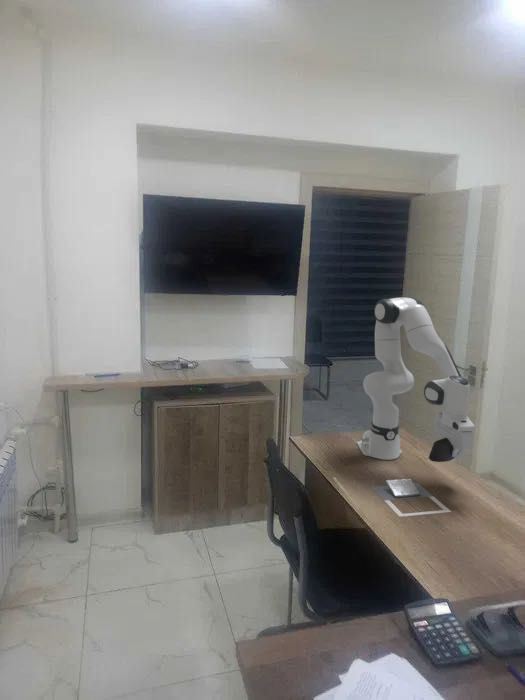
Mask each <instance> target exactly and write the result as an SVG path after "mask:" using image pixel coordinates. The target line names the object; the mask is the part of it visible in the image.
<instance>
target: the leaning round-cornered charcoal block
mask: <svg viewBox="0 0 525 700" xmlns="http://www.w3.org/2000/svg"><path fill="white" fill-rule="evenodd" d="M453 450H454V448H453V445H451V442H450V441H449V440H448V438H443V439H442V438H440V439H437V440H436V441H434V442H433V444H432V447H431V450H430V452H429V455H428V460H429V461H431V462H434V463H435V462H436V463H445V462H450V461H452V460H454V459H456V457H453V456H451V451H453ZM460 452H461V451H460V450H459V451H458V452H457V456H458V455H460Z"/></svg>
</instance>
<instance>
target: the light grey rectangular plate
mask: <svg viewBox="0 0 525 700" xmlns="http://www.w3.org/2000/svg"><path fill="white" fill-rule="evenodd" d="M385 483H386V486H388V487H389V488H390V490H391V492H392V494H393V495H394V497H395V498H401V497H413V496H420V493H419V491H418V490H417V488H416V487H415V485H414V484H415V483H414V482H413V480H412V479H411V478H401V479H400V478H399V479H387V480H386V481H385Z"/></svg>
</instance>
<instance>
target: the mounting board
mask: <svg viewBox="0 0 525 700" xmlns="http://www.w3.org/2000/svg"><path fill="white" fill-rule="evenodd" d="M413 484H414V485H415V487H416V488H417V490H418V491H419V493H420V496H413V497H401V498H395V497H394V495H393V494H392V492H391V490H390V488H389V487H388V485H380V486H377V485H376V486H371V489H372V490H374V492H375V493H376V494H377V495H378V496H379V497H380V498H381V499H382V500H383V501H384V502H385V503H386V505H388V506H389V507H390V508H391V509H392V510H393V511H394V512H395V514H396V515H397V516H398V517H410V516H411V517H413V516H420V515H421V516H422V515H423V516H424V515H431V514H443V513H452V510H450V509H449V508H448V507H446V505H444V504H443V503H442V502H441V501H439V499H437V498H436V497H435V496H434V495H433V494H431V493H430V492H429V491H427V490H426V488H424V487H423V486H422V485H421V484H419V483H413ZM419 498H420V499H421V498H428V499H431V501H433V502H434V503H435V504H436V505H438V507H439V508H440V509H439V510H431V511H419V512H408V513H403V512H402V511H400V509H398V507H396V505H395V504H393V503H392V501H395V500H398V501H399V500H408V499H419ZM441 509H442V510H441Z"/></svg>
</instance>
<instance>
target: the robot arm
mask: <svg viewBox="0 0 525 700" xmlns="http://www.w3.org/2000/svg"><path fill="white" fill-rule="evenodd" d="M373 310H374V311H373V312H374V313H373V314H374V318H375V319H376V320H375V321H376V322H375V327H374V355H375V358H376V360H378V361H379V362H380V363H381V364H382V366H383V369H384V370H382V371H374V372H371V373H369V374H367V375H365V377H364V379H363V384H362V385H363V386H362V387H363V390H364V392H365V393H366V394H367V395H368V396H369V398H370V399H371V402H372V405H373V406H372V407H373V417H372V421H371V422H370V427H369V428H370V429H369V430H367V431H365V432H364V433H363V434H362V436H361V440H359V441H357V446H358V448H359V450H360V451H361V453H362V455H363V456H365V457H372V458H374V459H379V460H384V461H386V460H395V459H398V458H399V457H400V455H401V454H403V450H402V449H401V437H400V435H399V430H400V428H399V427H400V426H399V418H400V417H399V416H400V409H399V407H398V406H397V404H395V403H394V402H393V395H398V394H399V395H400V394H405V393H406V392H408V391H410V390H412V389H413V387H414V385H415V378H414V375H413V374H412V372H410V371H409V370H408V368H407V367H406V365H405V363H404V360H403V358H402V348H401V346H402V345H401V327H402V326H403V327H404V331H405V335H406V338H407V341H408V344H409V345H410V347H411V348H412V349H413V350H414V351H416V352H417V353H420V354H423V355H427V356H429V357H431V358H432V359H434V360H435V361H436V362H437V364H438V366H439V368H440V371H441V372H442V375H443V377H444V378H443V379H433V380H430V381H428V382H426V384H425V385H424V387H423V396H424V399H425V400H426V401H427V403H428V404H431V405H435V406H441V407H442V411H439V412H438V413H437V415H436V418H435V420H434V424H433V429H432V430H433V433H434V435H436V436H438V437H440V439H443V438H448V440H449V441H450V442H451V445H453V448H454V450H453V451H451V456H453V457H455V458H457V456H458V455H457V452H458V451H459V450H460V451H459V452H462V453H465V452H466V453H467V452H471V450H472V449H473V444H474V431H475V430H476V426H475V424H474V423H473V422H472V420H471V419H470V418H469V416H468V405H469V404H470V396H471V385H470V382H469V380H468V379H466V378H465V377H464V376H462V374H461V373H460V371H459V369H458V366H457V364H456V362H455V361H454V358H453V355H452V354H451V352H450V350H449V348H448V346H447V345H446V343H445V342H443V340H442V339H441V338H440V337H439V335H438V334H437V332H436V329H435V326H434V324H433V321H432V319H431V316H430V314H429V313H428V310H427V308H426V307H425V306H424V304H423V302H422V301H421V300H420V299H418V298H415V297H402V296H401V297H400V296H399V297H393V298H383V299H380V300H378V301H376V303H375V306H374V309H373Z"/></svg>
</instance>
